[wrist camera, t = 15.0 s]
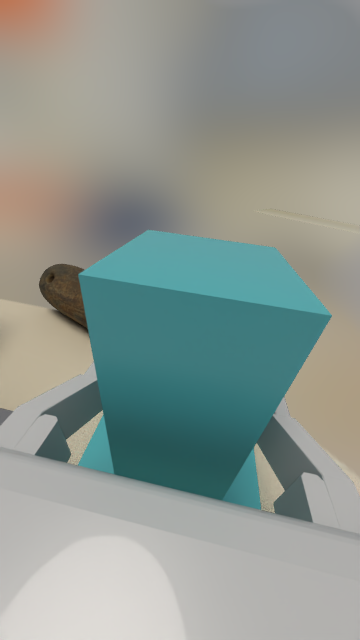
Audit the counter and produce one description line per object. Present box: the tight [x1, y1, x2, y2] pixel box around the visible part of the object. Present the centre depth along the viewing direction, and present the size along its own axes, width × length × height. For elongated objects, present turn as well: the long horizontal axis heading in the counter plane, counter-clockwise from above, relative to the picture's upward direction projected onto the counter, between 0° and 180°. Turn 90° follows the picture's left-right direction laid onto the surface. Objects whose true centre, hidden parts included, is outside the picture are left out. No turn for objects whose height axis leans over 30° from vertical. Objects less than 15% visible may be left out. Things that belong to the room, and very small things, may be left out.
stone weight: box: [39, 264, 88, 328], centre depth 27 cm, size 15×7×7 cm, turn 63°
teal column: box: [78, 230, 332, 500], centre depth 9 cm, size 4×4×13 cm
